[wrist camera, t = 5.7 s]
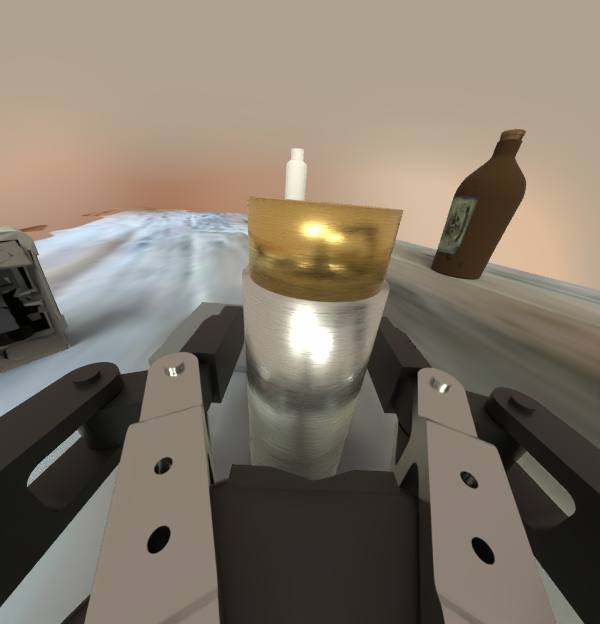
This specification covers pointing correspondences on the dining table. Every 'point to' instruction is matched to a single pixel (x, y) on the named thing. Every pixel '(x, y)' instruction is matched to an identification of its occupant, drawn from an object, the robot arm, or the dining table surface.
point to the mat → (188, 330)
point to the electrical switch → (26, 304)
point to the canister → (310, 324)
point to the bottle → (296, 176)
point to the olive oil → (482, 211)
